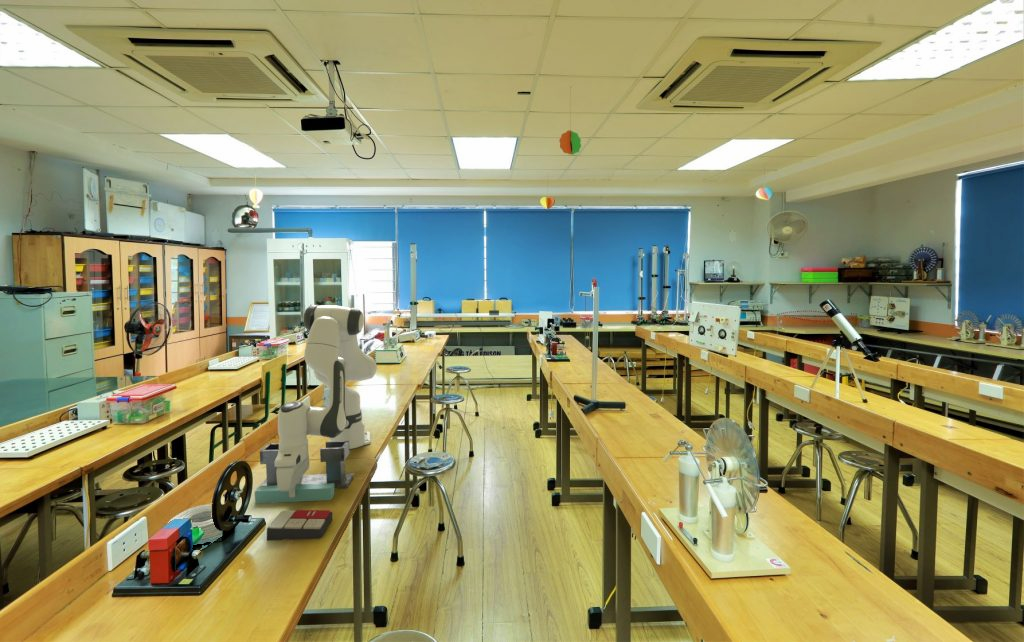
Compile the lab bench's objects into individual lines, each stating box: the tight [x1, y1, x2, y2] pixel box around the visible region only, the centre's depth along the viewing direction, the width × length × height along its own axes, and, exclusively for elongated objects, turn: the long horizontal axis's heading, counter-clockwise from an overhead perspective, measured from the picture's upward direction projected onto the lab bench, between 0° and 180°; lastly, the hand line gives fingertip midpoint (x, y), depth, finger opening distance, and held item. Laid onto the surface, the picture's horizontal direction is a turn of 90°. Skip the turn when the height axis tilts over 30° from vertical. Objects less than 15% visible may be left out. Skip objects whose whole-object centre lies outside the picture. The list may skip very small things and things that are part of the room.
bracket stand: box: [259, 440, 355, 489], centre depth 175 cm, size 10×30×14 cm, turn 96°
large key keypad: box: [266, 509, 333, 542], centre depth 144 cm, size 11×4×15 cm
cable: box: [167, 503, 221, 540], centre depth 141 cm, size 18×18×6 cm
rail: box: [254, 483, 335, 504], centre depth 164 cm, size 4×24×4 cm, turn 95°
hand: (295, 492), depth 164 cm, fingers closed on rail, 4 cm apart
